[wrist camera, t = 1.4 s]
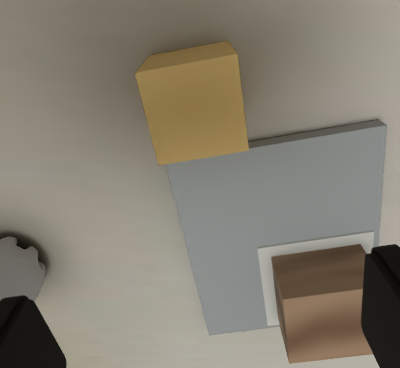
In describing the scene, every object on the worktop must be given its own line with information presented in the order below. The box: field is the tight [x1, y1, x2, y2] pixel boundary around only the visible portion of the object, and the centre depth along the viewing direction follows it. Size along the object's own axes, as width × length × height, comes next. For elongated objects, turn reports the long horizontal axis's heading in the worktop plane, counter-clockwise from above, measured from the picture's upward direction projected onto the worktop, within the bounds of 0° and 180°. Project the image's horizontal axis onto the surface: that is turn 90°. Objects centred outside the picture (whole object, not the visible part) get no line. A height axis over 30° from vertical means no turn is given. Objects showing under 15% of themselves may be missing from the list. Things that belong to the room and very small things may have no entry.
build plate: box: [166, 120, 387, 335], centre depth 28 cm, size 18×15×1 cm
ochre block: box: [135, 41, 249, 165], centre depth 20 cm, size 5×5×6 cm
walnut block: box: [271, 244, 373, 364], centre depth 27 cm, size 7×7×4 cm
